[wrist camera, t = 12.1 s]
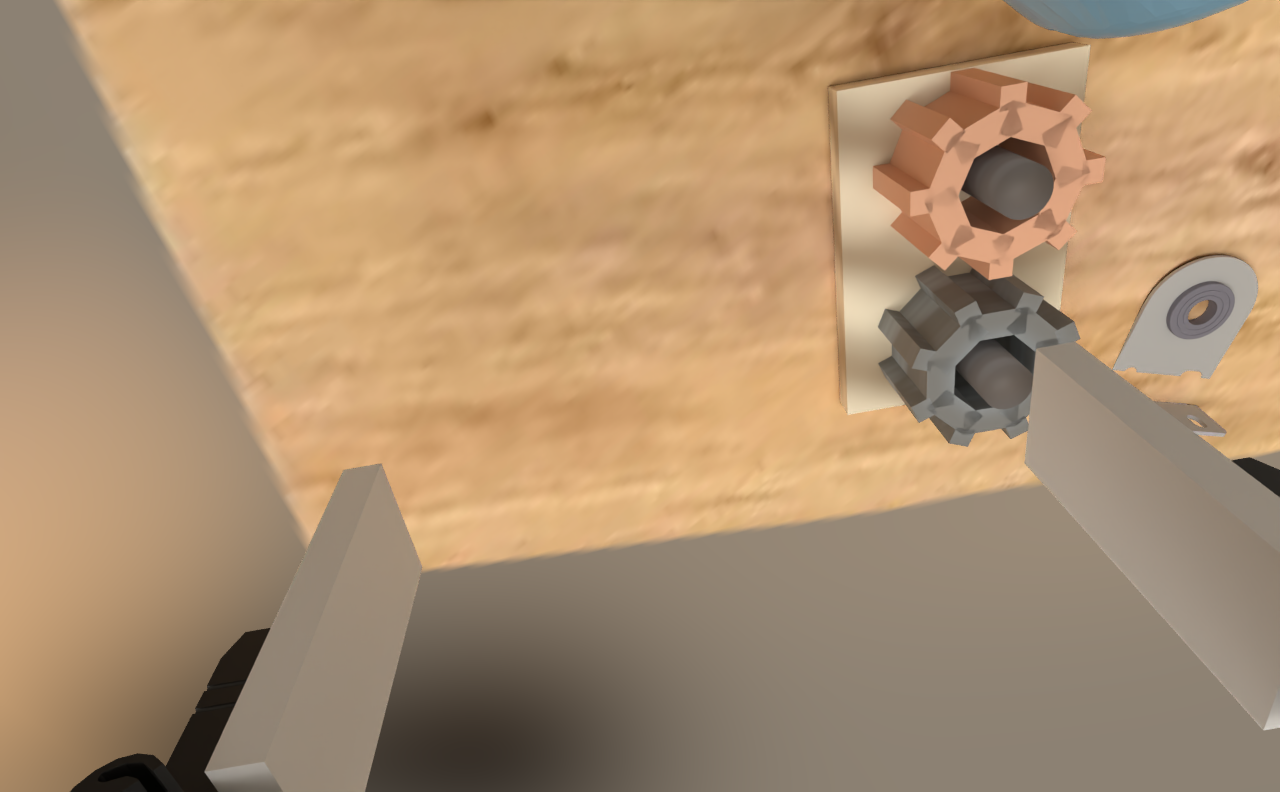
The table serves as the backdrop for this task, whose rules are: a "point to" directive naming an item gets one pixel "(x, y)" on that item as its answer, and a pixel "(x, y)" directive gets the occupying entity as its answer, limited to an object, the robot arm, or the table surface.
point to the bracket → (1191, 327)
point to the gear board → (920, 289)
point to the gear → (945, 151)
